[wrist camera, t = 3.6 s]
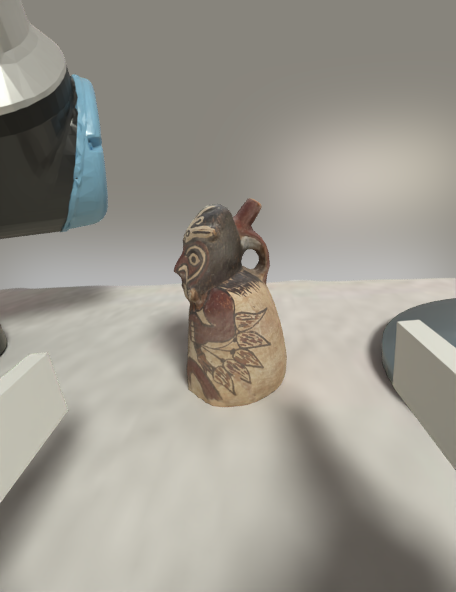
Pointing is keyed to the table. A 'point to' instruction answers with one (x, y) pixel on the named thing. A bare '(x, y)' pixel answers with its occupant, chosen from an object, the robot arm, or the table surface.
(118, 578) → the table surface
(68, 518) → the table surface
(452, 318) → the plate
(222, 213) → the figurine
